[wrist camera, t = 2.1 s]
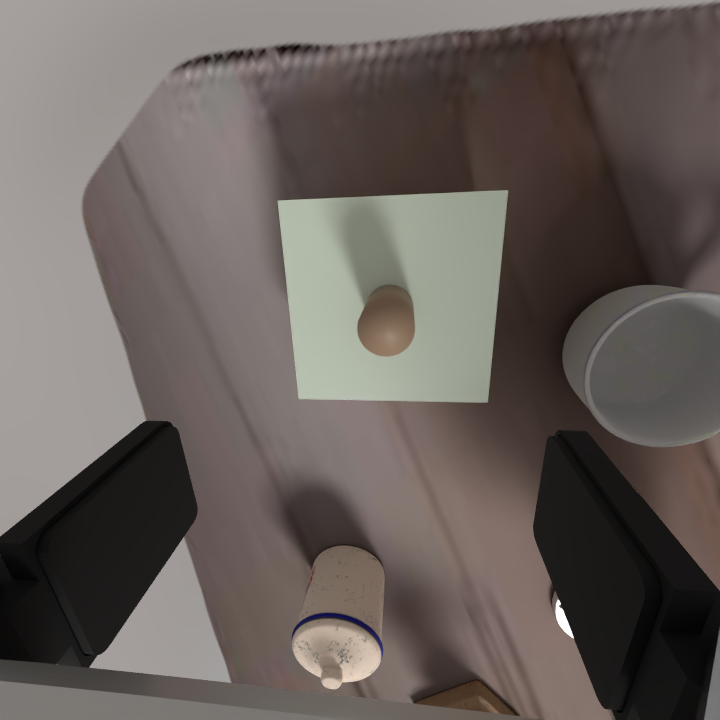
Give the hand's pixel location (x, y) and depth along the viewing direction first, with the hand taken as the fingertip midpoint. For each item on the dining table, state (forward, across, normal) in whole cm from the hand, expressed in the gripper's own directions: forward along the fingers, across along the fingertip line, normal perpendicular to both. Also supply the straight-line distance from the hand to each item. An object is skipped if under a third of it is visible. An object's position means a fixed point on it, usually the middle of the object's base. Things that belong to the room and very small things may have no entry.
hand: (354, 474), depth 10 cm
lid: (+18, 0, 0) cm, 18 cm away
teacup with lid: (+25, +5, +35) cm, 43 cm away
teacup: (+25, -20, +4) cm, 32 cm away
